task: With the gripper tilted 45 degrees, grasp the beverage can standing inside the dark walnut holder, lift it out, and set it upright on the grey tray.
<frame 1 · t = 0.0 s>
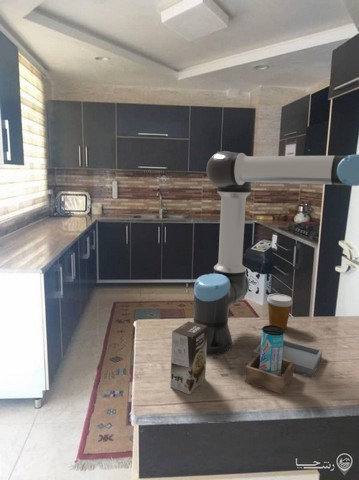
beverage can: (269, 379, 100), resting in walnut holder
coffee box: (188, 383, 97), on the kitchen island
grey tray: (287, 358, 112), on the kitchen island
walnut holder: (269, 378, 100), on the kitchen island
disposable coffee cup: (277, 327, 136), on the kitchen island
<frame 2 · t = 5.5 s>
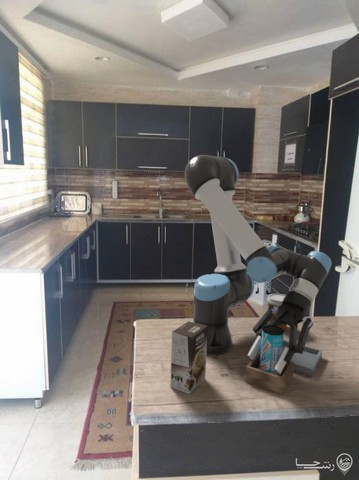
hand: (263, 363, 97), 6 cm above the kitchen island, tool tilted 45°, fingers open, 8 cm apart
nothing on the kitchen island moved.
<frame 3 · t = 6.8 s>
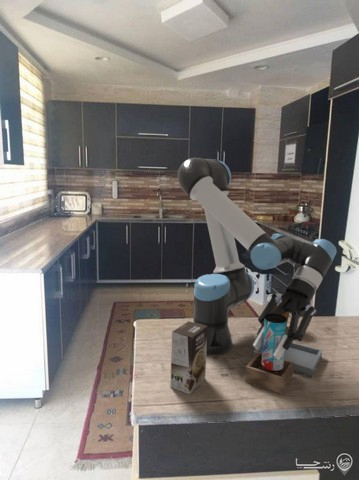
hand: (265, 352, 96), 9 cm above the kitchen island, tool tilted 45°, fingers closed on beverage can, 6 cm apart
beverage can: (272, 368, 99), point 3 cm above the kitchen island, touching gripper
everything else where it was.
when the fingers open (8 cm above the kitchen island, at t = 11.3 s): beverage can drops 1 cm, resting on grey tray.
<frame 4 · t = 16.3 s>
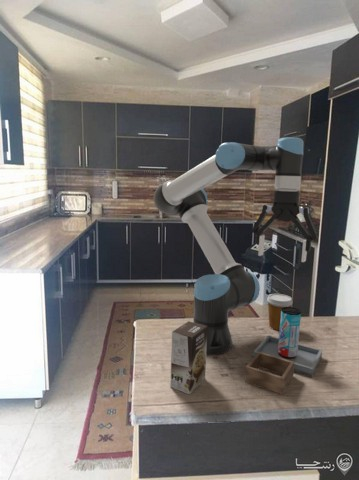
hand: (281, 258, 111), 32 cm above the kitchen island, tool pointing down, fingers open, 13 cm apart
beverage can: (287, 355, 112), point 1 cm above the kitchen island, touching grey tray
everything else where it was.
at the end: beverage can inside the target area on the grey tray (0.2 cm from its centre), point 0.8 cm above the grey tray's base; beverage can tilted 0°; the gripper is holding nothing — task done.
